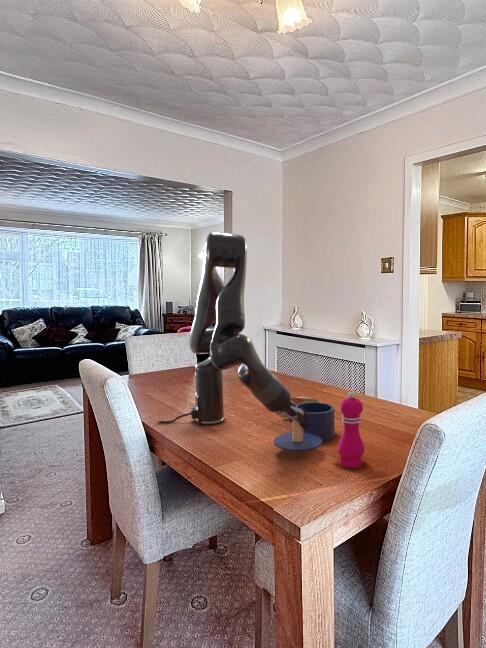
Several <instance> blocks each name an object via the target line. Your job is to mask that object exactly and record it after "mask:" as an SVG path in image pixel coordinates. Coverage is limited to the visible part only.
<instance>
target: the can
mask: <svg viewBox="0 0 486 648" xmlns="http://www.w3.org/2000/svg"><path fill="white" fill-rule="evenodd" d="M296 406H297V407H298V408H299V409H300V408H301V407H303V408H305V410H306V412H307V415H308V418H307V421H308V422H309V423H310V426H309V427H308V429H307V430H304V429H303V433H310V434H314V435H317V436H319V437H320V438H321V439H322V442H327V441H330V440H333V438H334V437H335V406H334V405H332V404H331V403H326V402H321V401H319V402H308V403H301V404H298V405H296Z"/></svg>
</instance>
